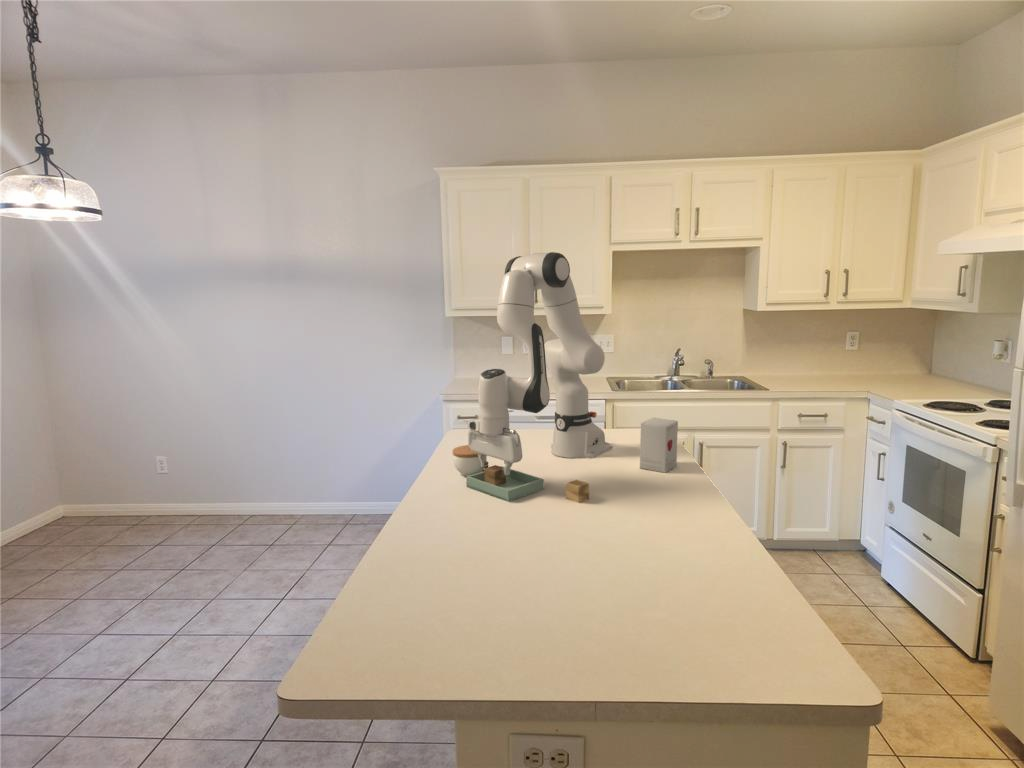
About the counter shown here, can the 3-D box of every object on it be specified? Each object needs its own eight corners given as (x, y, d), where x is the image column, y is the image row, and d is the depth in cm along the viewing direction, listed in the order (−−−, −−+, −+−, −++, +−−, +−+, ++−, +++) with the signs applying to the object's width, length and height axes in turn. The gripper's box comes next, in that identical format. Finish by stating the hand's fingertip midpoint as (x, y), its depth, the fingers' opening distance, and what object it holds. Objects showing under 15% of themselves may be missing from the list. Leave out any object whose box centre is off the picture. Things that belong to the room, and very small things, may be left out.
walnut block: (495, 479, 195) (495, 465, 194) (506, 482, 192) (505, 468, 191) (484, 483, 192) (484, 468, 191) (494, 486, 189) (494, 471, 188)
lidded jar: (489, 468, 208) (489, 440, 207) (484, 479, 198) (484, 449, 196) (456, 467, 209) (455, 439, 208) (450, 478, 199) (449, 449, 197)
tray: (501, 475, 200) (501, 466, 200) (543, 489, 188) (543, 479, 187) (466, 486, 191) (466, 476, 190) (508, 501, 178) (508, 491, 178)
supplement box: (665, 473, 200) (666, 426, 197) (638, 468, 205) (639, 422, 202) (677, 466, 207) (678, 420, 204) (651, 461, 212) (652, 416, 210)
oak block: (576, 494, 183) (576, 479, 182) (588, 498, 180) (589, 483, 179) (565, 499, 180) (565, 483, 179) (578, 503, 177) (578, 487, 176)
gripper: (526, 429, 184) (527, 476, 186) (479, 418, 198) (481, 461, 201) (510, 433, 179) (511, 481, 182) (463, 421, 194) (465, 466, 197)
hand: (495, 470), depth 191 cm, fingers open, 8 cm apart
